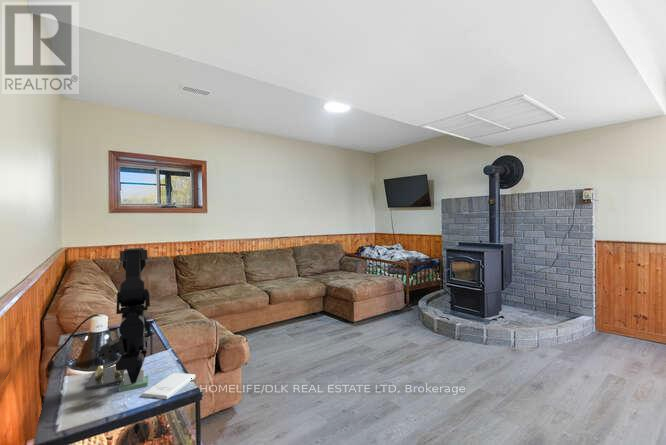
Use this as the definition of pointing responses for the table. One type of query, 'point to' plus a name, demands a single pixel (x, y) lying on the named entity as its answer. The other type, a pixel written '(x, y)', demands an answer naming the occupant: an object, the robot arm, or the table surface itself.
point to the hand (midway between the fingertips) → (134, 381)
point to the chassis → (105, 377)
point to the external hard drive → (168, 385)
